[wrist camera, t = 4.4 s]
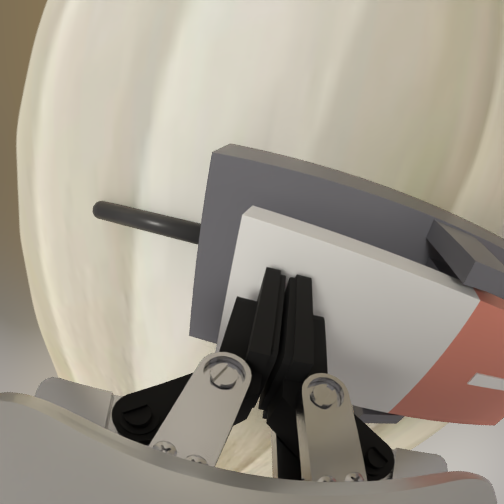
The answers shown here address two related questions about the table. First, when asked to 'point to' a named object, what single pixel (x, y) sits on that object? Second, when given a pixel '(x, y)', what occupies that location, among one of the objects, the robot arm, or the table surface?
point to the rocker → (383, 320)
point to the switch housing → (319, 214)
